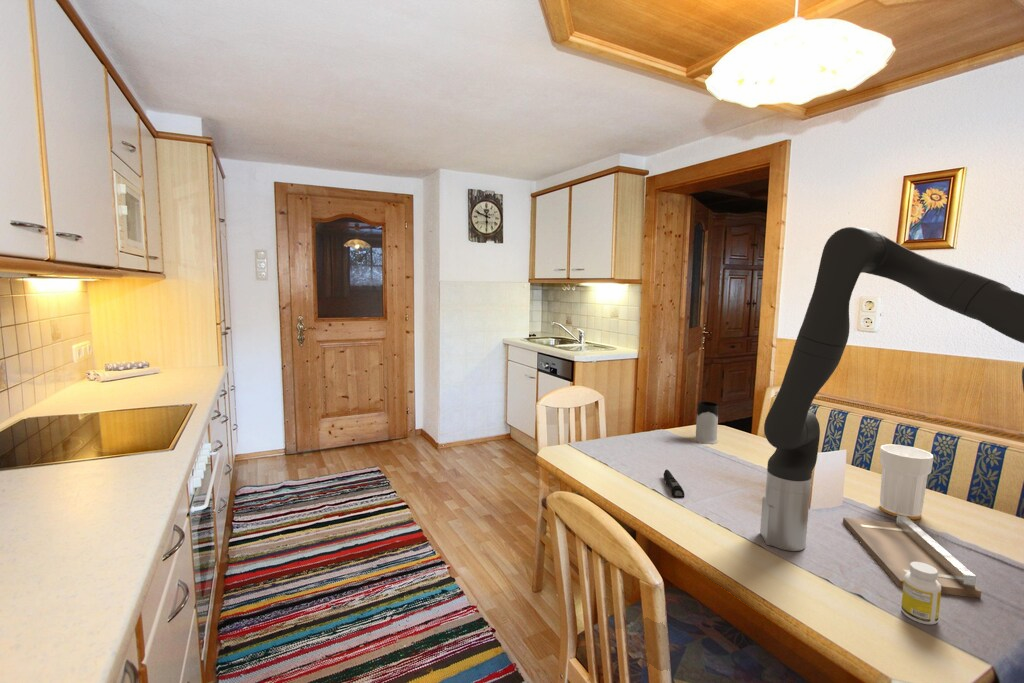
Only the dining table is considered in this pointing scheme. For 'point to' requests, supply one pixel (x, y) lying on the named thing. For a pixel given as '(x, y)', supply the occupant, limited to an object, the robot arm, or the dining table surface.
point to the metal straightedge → (937, 552)
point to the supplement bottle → (921, 593)
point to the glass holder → (707, 423)
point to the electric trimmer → (673, 485)
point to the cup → (904, 479)
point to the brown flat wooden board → (901, 553)
